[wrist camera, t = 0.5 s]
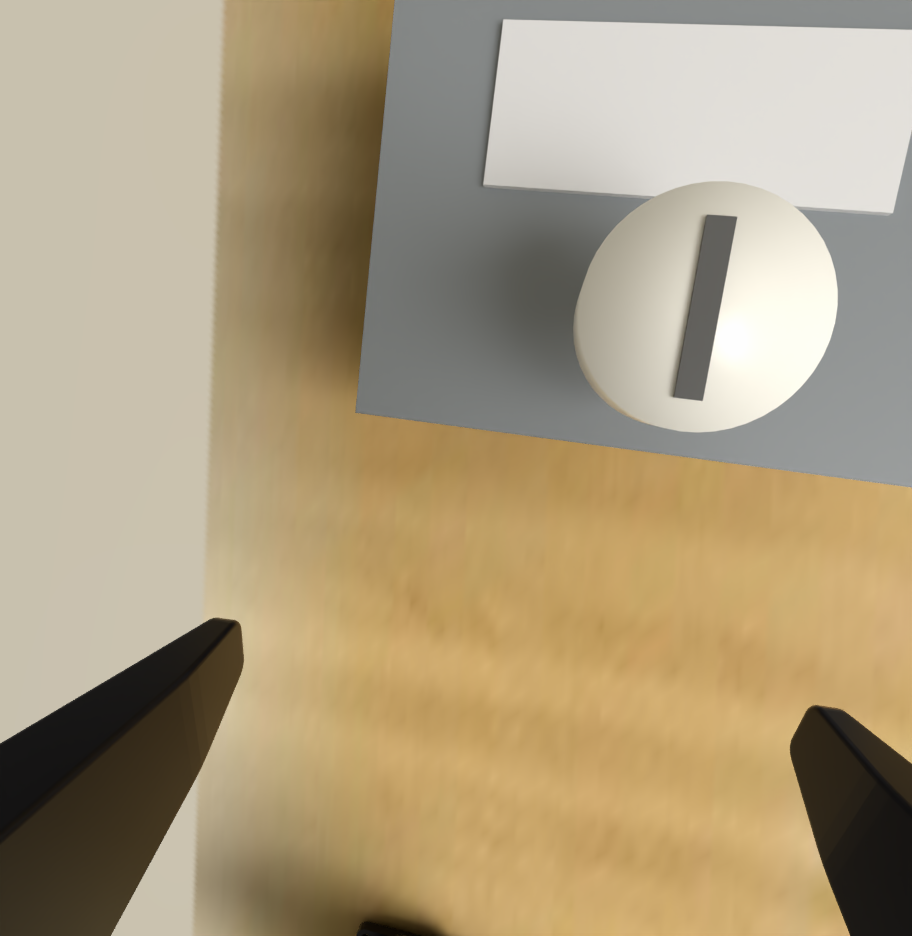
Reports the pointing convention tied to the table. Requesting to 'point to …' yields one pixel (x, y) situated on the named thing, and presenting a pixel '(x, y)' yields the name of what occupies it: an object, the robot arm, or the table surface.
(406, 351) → the console
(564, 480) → the table surface
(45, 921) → the robot arm
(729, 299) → the knob
